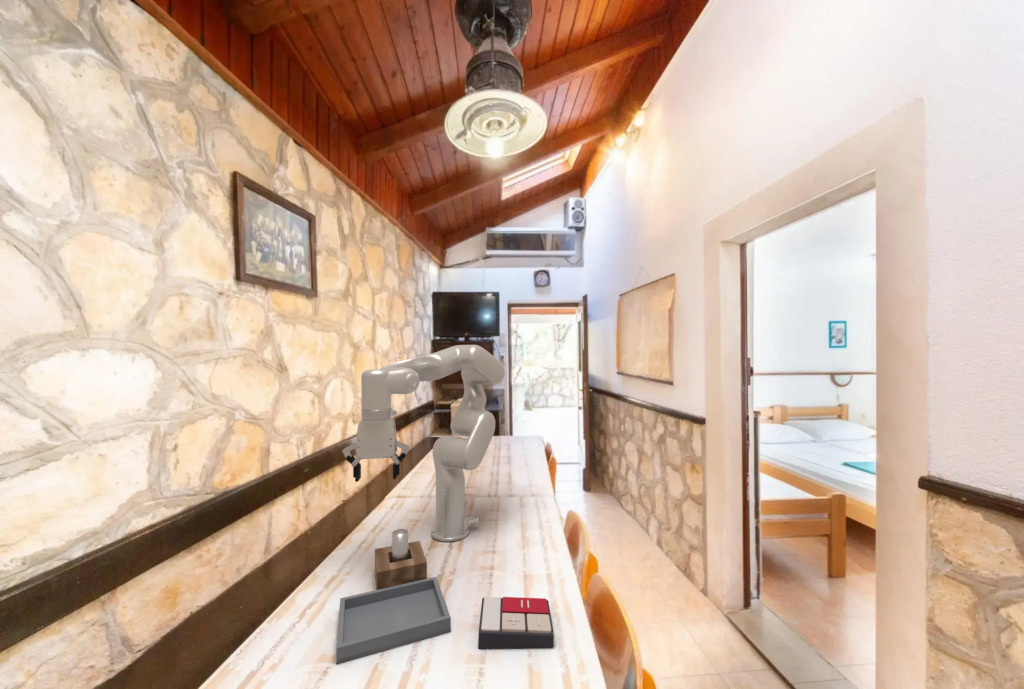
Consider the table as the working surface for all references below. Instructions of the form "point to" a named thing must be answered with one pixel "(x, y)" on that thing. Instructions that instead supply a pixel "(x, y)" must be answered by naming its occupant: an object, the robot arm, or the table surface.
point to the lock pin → (399, 545)
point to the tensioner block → (399, 566)
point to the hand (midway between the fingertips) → (376, 478)
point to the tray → (390, 618)
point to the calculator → (515, 623)
